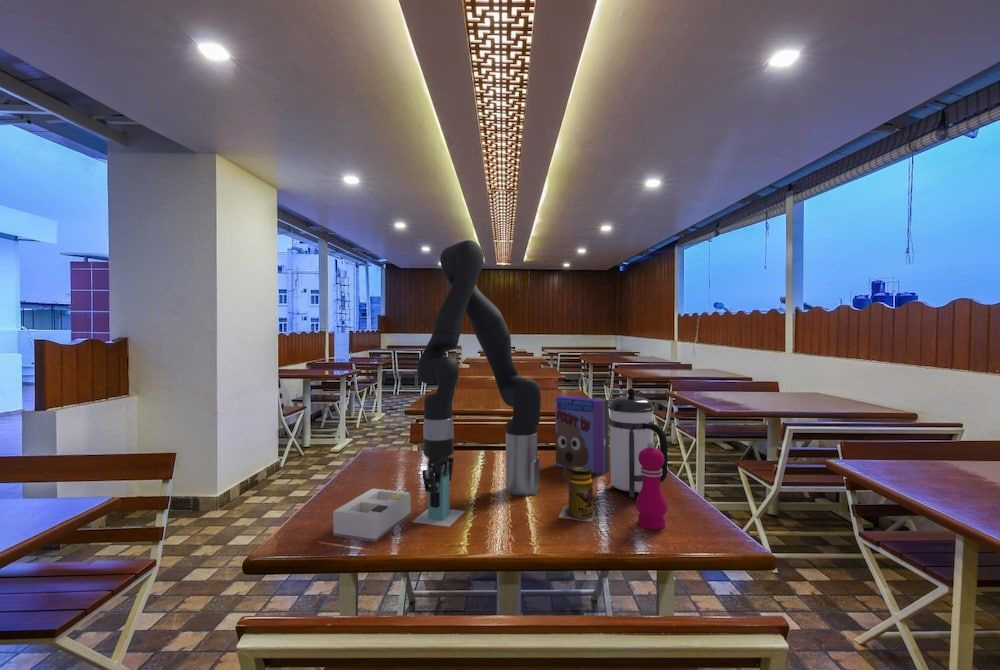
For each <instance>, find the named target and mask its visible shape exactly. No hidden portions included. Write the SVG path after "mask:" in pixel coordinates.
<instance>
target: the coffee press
mask: <svg viewBox="0 0 1000 670" xmlns="http://www.w3.org/2000/svg"><path fill="white" fill-rule="evenodd" d="M626 393H627V395H628V396H627V395H626V396H617V397H615V398H613V399H612V400H611V401H610V404H609V464H610V479H609V480H608V482H607V483H606V484H605V489H606V490H607V491H610V490H611V489H613V488H616V489H618V490H621V491H624V492H628V494H629V495H628V496H629V500H635V493H640V491H641V488H642V485H643V476H642V474H641V469H640V468H641V467H642V465H641V464H640V463H639V461H638V456H639V453H640V451H641V450H642V449H644V448H648V446H647V444H648V442H650V441H651V442H654V443H655V434H656V435H657V436H658V439H659V441H658V442H659V450H660V451H661V452H662V453H663V455H664V464H663V466H662V467H661V469H662V476H660V483H662V482H664V481H665V480H666V479H667V476H668V456H669V455H668V440H667V436H666V433H665V431H664V429H663V428H662V427H661V426H660V425H658V424H655V420H654V411H655V406H654V405H653V403H652V401H651V400H650V399H648V398H645V397H643V396H642V397H641V396H635V394H636V391H635V389H634V388H628V389H627V391H626ZM609 483H611V486H610V487H607V486H608V485H609Z"/></svg>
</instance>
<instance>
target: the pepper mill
mask: <svg viewBox="0 0 1000 670" xmlns="http://www.w3.org/2000/svg"><path fill="white" fill-rule="evenodd" d="M647 446H648V448H644V449H642V450H641V451H640V453H639V456H638V461H639V463H640V464H641V465H642V467H641V468H640V469H641V474H642V476H643V485H642V488H641V491H640V492H638V495H637V497H636V501H635V502H636V503H635V507H636V510H637V511H638V513H639V514H638V516H637V523H638V525H639V526H640V527H643V528H645V529H647V530H663V529H664V528H665V527H666V517H665V515H666V513H667V512H668V503H667V500H666V497H665V495H664V493H663V489H662V486H661V482H660V476H662V469H661V467H662V466H663V464H664V455H663V453H662V452H661V451H660V449H658V448H656V444H655V441H654V442H651V441H650V442H648V444H647Z"/></svg>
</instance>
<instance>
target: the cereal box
mask: <svg viewBox="0 0 1000 670" xmlns="http://www.w3.org/2000/svg"><path fill="white" fill-rule="evenodd" d="M609 403H610V402H609V399H601V398H598V399H597V398H590V397H589V398H588V397H577V396H576V397H574V396H565V395H564V396H563V395H561V396H560V395H559V396H556V397H555V408H554V409H555V411H554V412H555V415H554V416H555V417H554V419H555V467H557V468H561V469H562V468H563V469H568V470H570V469H571V467H573V466H585V467H588V468H590V469H591V474H597V475H602V476H604V475H605V474H607V473H608V472H609V473H610V439H609V418H610V410H609V405H610V404H609Z"/></svg>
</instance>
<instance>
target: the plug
mask: <svg viewBox="0 0 1000 670" xmlns="http://www.w3.org/2000/svg"><path fill="white" fill-rule="evenodd" d="M435 479H439V478H435ZM435 483H436V482H435ZM436 484H437V483H436ZM439 494H440V506H439V507H438V508H434V507H431V506H430V492H427V499H428V500H427V504H428V505H427V509H428V518H429V519H437V520H444V519H445V518H446V517H447V516H448V515H449V514H450V502H451V501H450V481H449V475H443V479H442V482H441V483H440V491H439Z"/></svg>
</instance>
